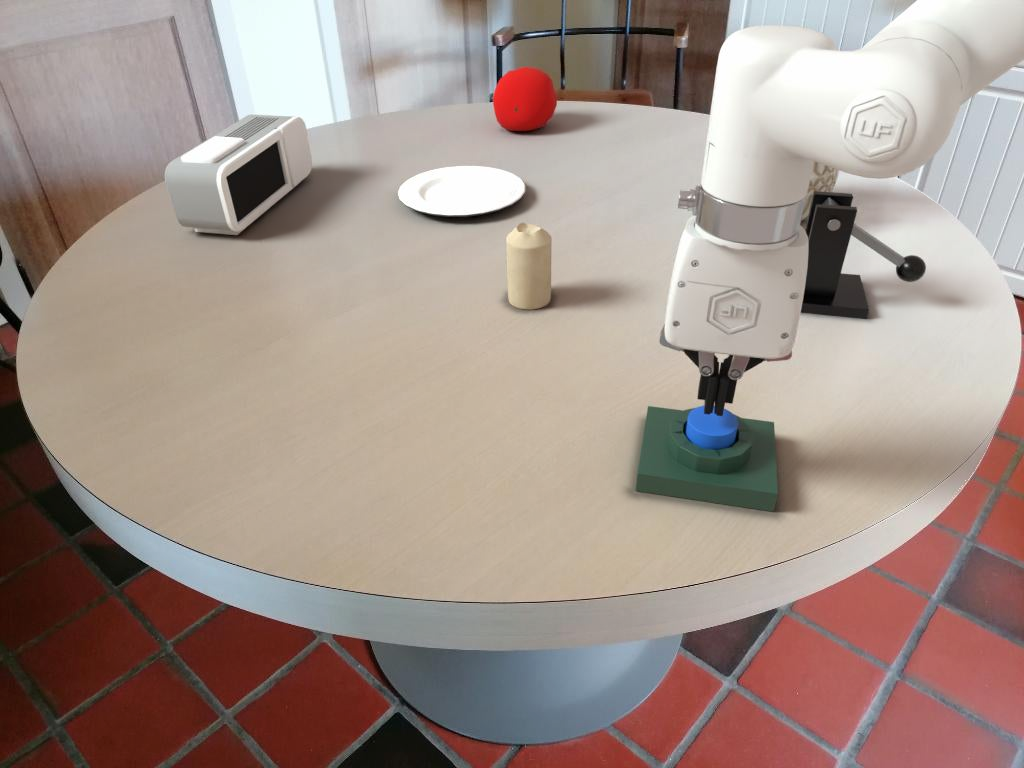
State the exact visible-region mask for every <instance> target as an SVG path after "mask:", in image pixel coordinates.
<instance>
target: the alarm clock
mask: <svg viewBox="0 0 1024 768" xmlns="http://www.w3.org/2000/svg"><path fill="white" fill-rule="evenodd" d="M312 167H313V157H312V153H311V147H310V140H309V135H308V130H307V125H306V123H305V121H304V119H303V118H302V117H301V116H288V115H269V114H268V115H267V114H247V115H246V116H244V117H242V118H241V119H239V120H237V121H236V122H234V123H233V124H230V125H229V126H228V127H226V128H224V129H222V130H220V131H219V132H217V133H216V134H214V135H212V136H211V137H209V138H207V139H206V140H204V141H202V142H201V143H199V144H197V145H196V146H194V147H192V148H190V149H189V150H188V151H186V152H184V153H183V154H181V155H179V156H177V157H176V158H174V159H172V160H170V162H169V163H168V164H167V165H166V167H165V170H164V180H165V185H166V188H167V192H168V195H169V199H170V202H171V205H172V208H173V212H174V215H175V218H176V220H177V222H178V223H179V224H180V225H181V226H182V227H184V228H193V229H194V231H195V232H196V233H205V234H206V233H207V234H217V235H220V234H221V235H232V236H238V235H240V233H241V232H243V231H244V230H245V229H247V227H249V226H250V225H251V224H252V223H253V222H254V221H256V220H257V219H258V218H260V217H261V216H263V214H265V212H267V211H268V210H269V209H271V207H273V206H274V205H275V204H276V203H277V202H278V201H280V200H281V199H282V198H284V197H285V196H286V195H287V194H288V193H290V191H292V190H293V189H294V188H295V187H297V186H298V185H299V184H300V183H301V182H302V181H303V180H305V178H307V177H308V176H309V175H310V174H311V172H312V169H313V168H312Z"/></svg>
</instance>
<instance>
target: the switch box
mask: <svg viewBox="0 0 1024 768" xmlns="http://www.w3.org/2000/svg"><path fill="white" fill-rule="evenodd" d="M695 408H696V407H691V408H687V409H683V410H682V409H675V408H666V407H658V406H651V405H648V406H647V410H646V416H645V422H644V428H643V435H642V441H641V446H640V447H641V448H640V453H639V458H638V459H639V460H638V465H637V472H636V481H635V492H640V493H647V494H653V495H660V496H667V497H674V498H680V499H686V500H693V501H699V502H700V501H701V502H707V503H714V504H721V505H727V506H733V507H739V508H740V507H741V508H745V509H746V508H747V509H753V510H760V511H766V512H774V511H775V507H776V504H777V501H778V495H779V487H778V485H779V484H778V468H777V451H776V450H777V449H776V434H775V431H776V430H775V422H774V421H769V420H761V419H753V418H746V417H745V418H744V417H741V416H739V415H736V414H734V415H735V417H736V418H737V421H738V428H737V433H736V438H735V441H734V443H733V444H732V445H731V446H730V447H728V448H725V449H721V450H711V449H704V448H701V447H699V446H697V445H695V444H693V443H692V442H690V440H689V439H688V438H687V435H686V427H687V420H688V415H689V413H690V412H691V411H692V410H693V409H695Z"/></svg>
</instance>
